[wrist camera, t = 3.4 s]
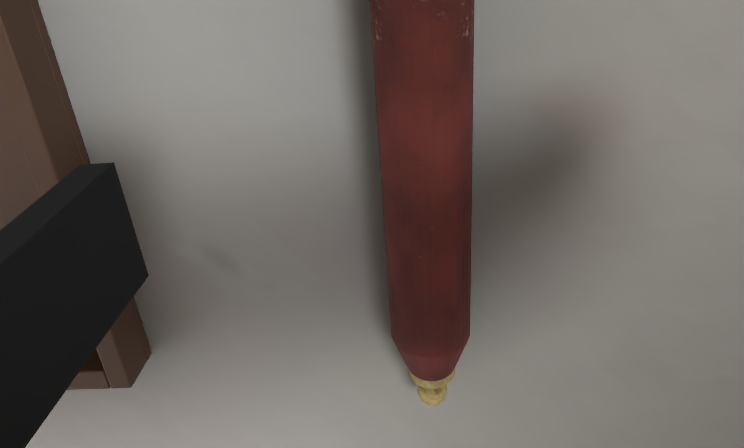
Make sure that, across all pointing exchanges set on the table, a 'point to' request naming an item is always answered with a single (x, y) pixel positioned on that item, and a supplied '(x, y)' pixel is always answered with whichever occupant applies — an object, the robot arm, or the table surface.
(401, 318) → the gavel
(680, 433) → the table surface
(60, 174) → the tray
